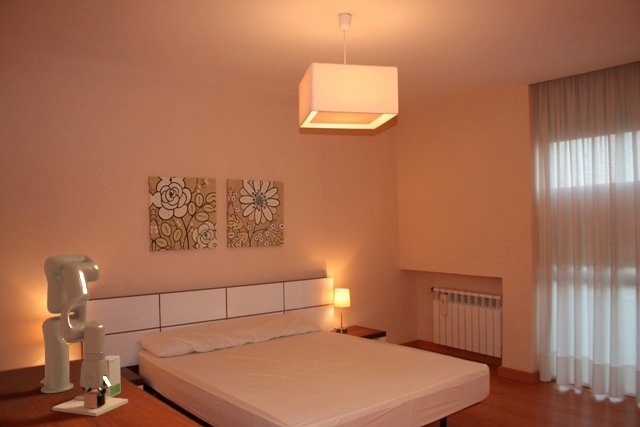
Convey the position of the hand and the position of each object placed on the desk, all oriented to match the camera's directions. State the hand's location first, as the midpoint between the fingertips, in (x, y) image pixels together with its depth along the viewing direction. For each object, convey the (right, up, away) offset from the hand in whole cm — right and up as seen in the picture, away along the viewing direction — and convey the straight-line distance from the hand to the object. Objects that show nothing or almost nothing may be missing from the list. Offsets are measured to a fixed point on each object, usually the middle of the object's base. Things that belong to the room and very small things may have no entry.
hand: (95, 404), depth 194 cm
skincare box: (-2, -3, +17) cm, 18 cm away
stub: (0, 0, 0) cm, 0 cm away
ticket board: (-3, -2, +4) cm, 5 cm away
